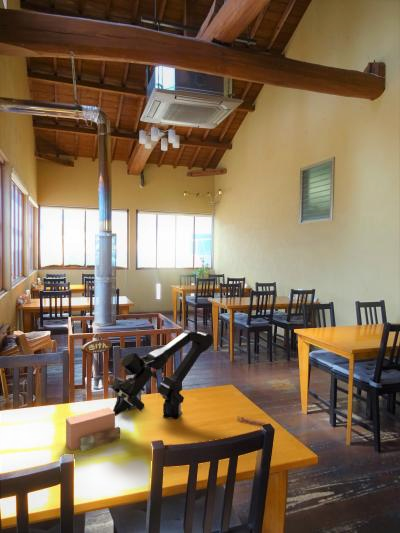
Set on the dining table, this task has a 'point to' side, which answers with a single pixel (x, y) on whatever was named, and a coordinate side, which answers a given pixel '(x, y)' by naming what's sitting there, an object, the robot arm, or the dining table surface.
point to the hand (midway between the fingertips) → (112, 415)
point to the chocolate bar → (250, 421)
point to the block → (88, 425)
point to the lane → (99, 438)
